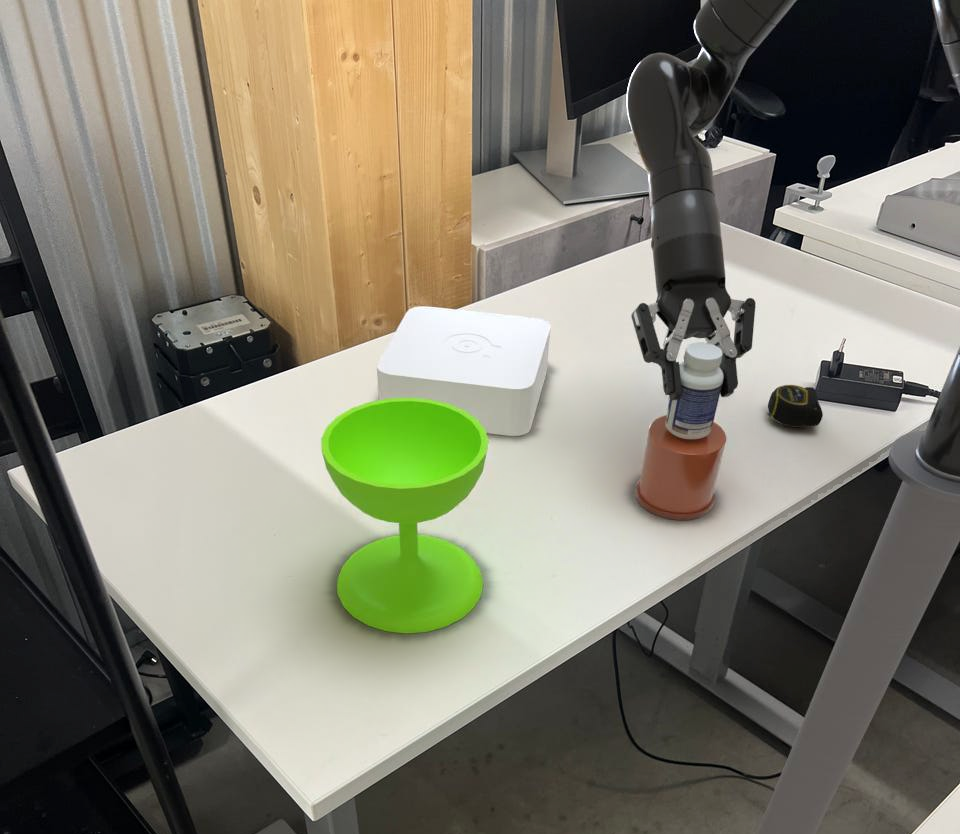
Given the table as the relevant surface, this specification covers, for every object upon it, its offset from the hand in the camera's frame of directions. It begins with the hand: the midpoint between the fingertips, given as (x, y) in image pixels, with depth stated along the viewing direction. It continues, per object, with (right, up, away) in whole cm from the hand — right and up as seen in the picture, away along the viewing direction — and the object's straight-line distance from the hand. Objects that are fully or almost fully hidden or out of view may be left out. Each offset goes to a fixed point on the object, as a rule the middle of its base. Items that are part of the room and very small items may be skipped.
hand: (701, 396), depth 102 cm
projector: (-27, +8, +29) cm, 40 cm away
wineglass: (-32, -21, -1) cm, 39 cm away
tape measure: (+19, +4, +26) cm, 32 cm away
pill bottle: (0, -3, +5) cm, 6 cm away
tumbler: (-1, -9, +11) cm, 15 cm away
